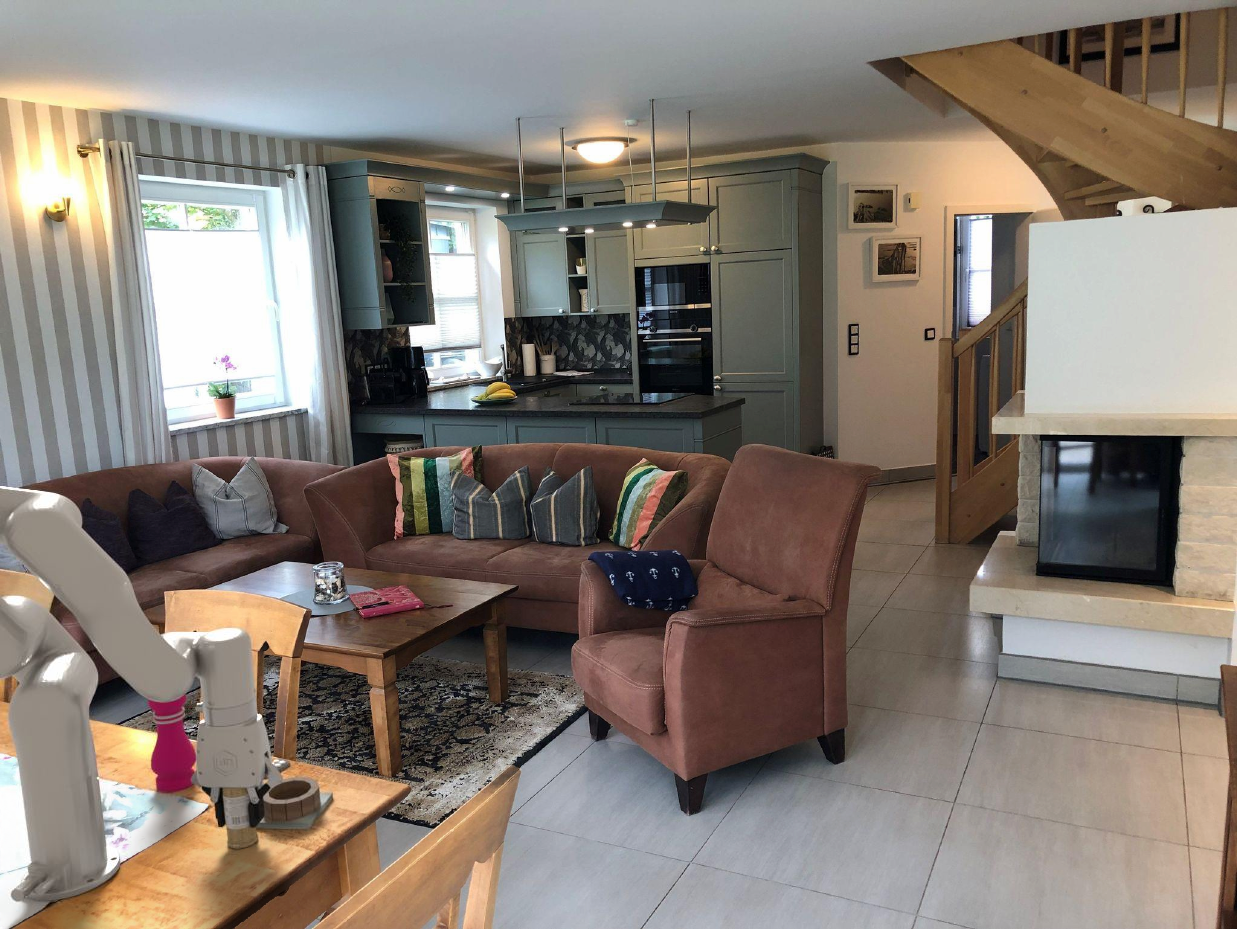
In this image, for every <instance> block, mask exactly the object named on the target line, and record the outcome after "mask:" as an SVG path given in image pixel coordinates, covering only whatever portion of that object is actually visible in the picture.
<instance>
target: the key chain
mask: <svg viewBox="0 0 1237 929" xmlns="http://www.w3.org/2000/svg"><path fill="white" fill-rule="evenodd" d="M272 764H273V765H274V766H275V767H276V769H277V770H278V771H279V772H280V773H281V772H283V771H284V770H285V769H287V768H289V767H290V766H291V762H290V760H288V759H282V758H278V759H274V760H273V761H272ZM265 779H269V778H268V777H267V775H265V776H264V779H263V780H265Z"/></svg>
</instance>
